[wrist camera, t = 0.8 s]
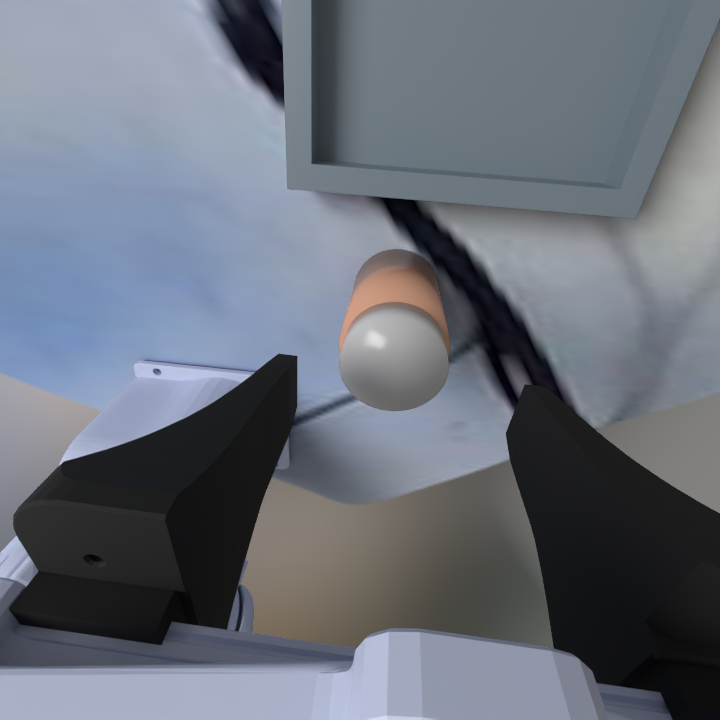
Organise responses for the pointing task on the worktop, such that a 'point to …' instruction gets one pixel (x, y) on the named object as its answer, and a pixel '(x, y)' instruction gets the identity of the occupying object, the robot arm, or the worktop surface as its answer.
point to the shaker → (395, 333)
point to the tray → (489, 98)
